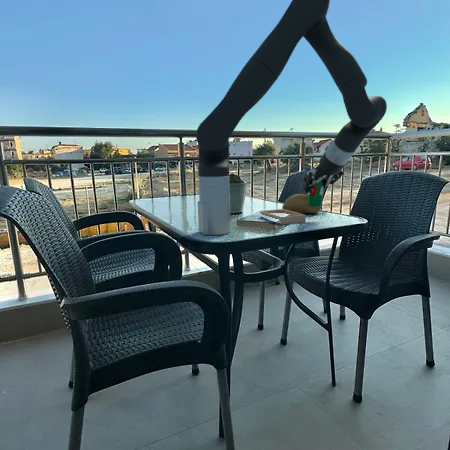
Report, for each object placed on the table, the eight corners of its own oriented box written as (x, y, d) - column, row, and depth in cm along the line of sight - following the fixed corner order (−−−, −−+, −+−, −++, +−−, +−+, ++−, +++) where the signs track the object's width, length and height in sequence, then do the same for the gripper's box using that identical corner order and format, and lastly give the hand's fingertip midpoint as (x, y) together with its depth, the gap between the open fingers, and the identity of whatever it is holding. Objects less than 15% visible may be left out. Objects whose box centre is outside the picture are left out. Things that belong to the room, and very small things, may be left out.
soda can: (322, 207, 110) (324, 171, 108) (307, 206, 111) (309, 171, 109) (321, 205, 115) (323, 171, 113) (306, 204, 116) (308, 171, 114)
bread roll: (322, 215, 123) (323, 195, 122) (282, 215, 126) (282, 195, 124) (318, 211, 133) (319, 192, 131) (281, 211, 135) (282, 192, 133)
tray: (280, 224, 108) (280, 217, 108) (260, 217, 122) (260, 210, 122) (305, 222, 112) (305, 215, 111) (283, 215, 126) (283, 209, 125)
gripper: (350, 147, 105) (324, 182, 118) (312, 147, 100) (290, 183, 113) (360, 164, 101) (333, 198, 114) (322, 164, 96) (298, 200, 109)
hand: (312, 190), depth 114 cm, fingers closed on soda can, 5 cm apart
